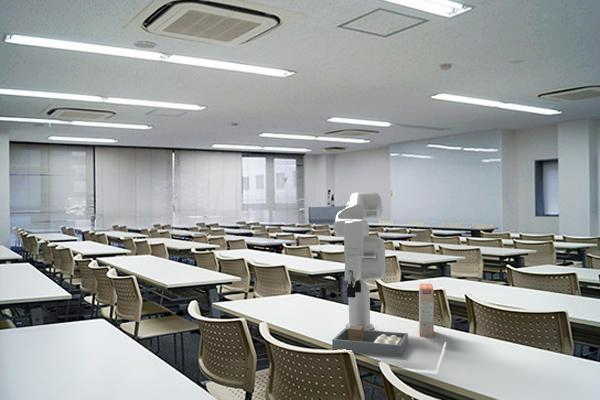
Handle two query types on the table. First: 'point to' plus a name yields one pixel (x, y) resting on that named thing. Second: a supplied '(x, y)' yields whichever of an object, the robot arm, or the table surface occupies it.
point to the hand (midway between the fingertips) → (354, 294)
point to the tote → (371, 343)
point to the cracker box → (426, 310)
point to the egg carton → (388, 339)
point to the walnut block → (356, 333)
